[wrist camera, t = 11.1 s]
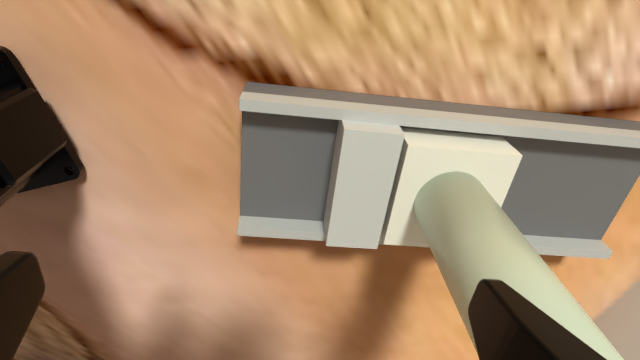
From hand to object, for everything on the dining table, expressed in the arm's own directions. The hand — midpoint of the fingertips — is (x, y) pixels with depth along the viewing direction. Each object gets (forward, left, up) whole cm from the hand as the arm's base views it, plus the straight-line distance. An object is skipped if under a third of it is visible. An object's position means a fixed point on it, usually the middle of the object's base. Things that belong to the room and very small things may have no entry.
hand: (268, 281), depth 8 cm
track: (+7, -5, -12) cm, 15 cm away
